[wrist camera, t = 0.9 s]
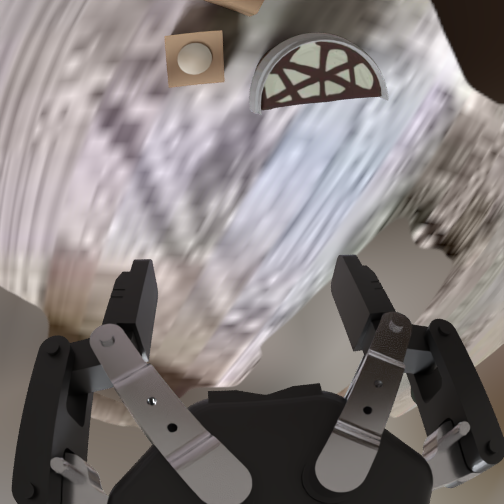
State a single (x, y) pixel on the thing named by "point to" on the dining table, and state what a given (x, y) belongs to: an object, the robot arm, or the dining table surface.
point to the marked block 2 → (240, 5)
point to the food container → (314, 73)
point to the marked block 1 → (194, 58)
